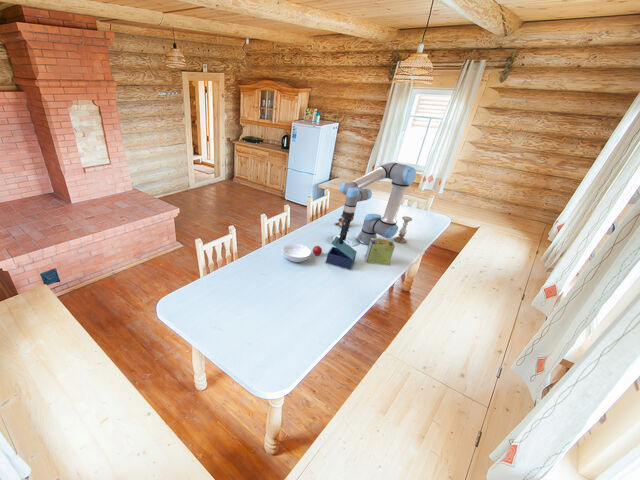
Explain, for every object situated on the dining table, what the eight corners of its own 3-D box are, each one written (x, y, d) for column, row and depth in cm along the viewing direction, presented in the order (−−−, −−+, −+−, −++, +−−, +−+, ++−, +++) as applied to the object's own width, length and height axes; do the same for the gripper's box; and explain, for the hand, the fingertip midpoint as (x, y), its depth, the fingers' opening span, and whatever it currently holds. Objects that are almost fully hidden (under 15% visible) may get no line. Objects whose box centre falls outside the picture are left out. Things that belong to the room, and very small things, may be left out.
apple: (313, 251, 244) (315, 242, 240) (322, 253, 242) (324, 244, 237) (310, 255, 239) (312, 246, 235) (319, 257, 236) (321, 248, 232)
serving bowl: (309, 267, 224) (311, 258, 221) (280, 263, 228) (281, 255, 224) (310, 253, 242) (311, 245, 238) (282, 250, 245) (283, 242, 241)
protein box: (389, 265, 230) (395, 246, 222) (367, 262, 232) (372, 243, 224) (386, 258, 238) (392, 239, 230) (365, 255, 241) (370, 237, 233)
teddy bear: (334, 224, 289) (337, 211, 282) (346, 222, 294) (349, 208, 287) (341, 228, 281) (344, 215, 274) (353, 226, 286) (357, 212, 280)
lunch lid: (331, 243, 221) (338, 235, 216) (335, 236, 231) (343, 228, 225) (352, 260, 219) (360, 252, 214) (356, 252, 228) (363, 244, 223)
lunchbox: (325, 262, 230) (327, 253, 226) (330, 255, 240) (332, 246, 236) (350, 269, 223) (352, 260, 219) (354, 261, 232) (356, 252, 228)
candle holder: (403, 238, 268) (410, 216, 257) (407, 243, 260) (414, 220, 250) (392, 237, 268) (399, 215, 258) (396, 242, 261) (403, 219, 250)
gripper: (347, 205, 220) (340, 235, 232) (339, 214, 205) (332, 245, 217) (357, 207, 217) (350, 237, 229) (351, 217, 202) (343, 248, 214)
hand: (342, 241), depth 223 cm, fingers closed on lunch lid, 7 cm apart
